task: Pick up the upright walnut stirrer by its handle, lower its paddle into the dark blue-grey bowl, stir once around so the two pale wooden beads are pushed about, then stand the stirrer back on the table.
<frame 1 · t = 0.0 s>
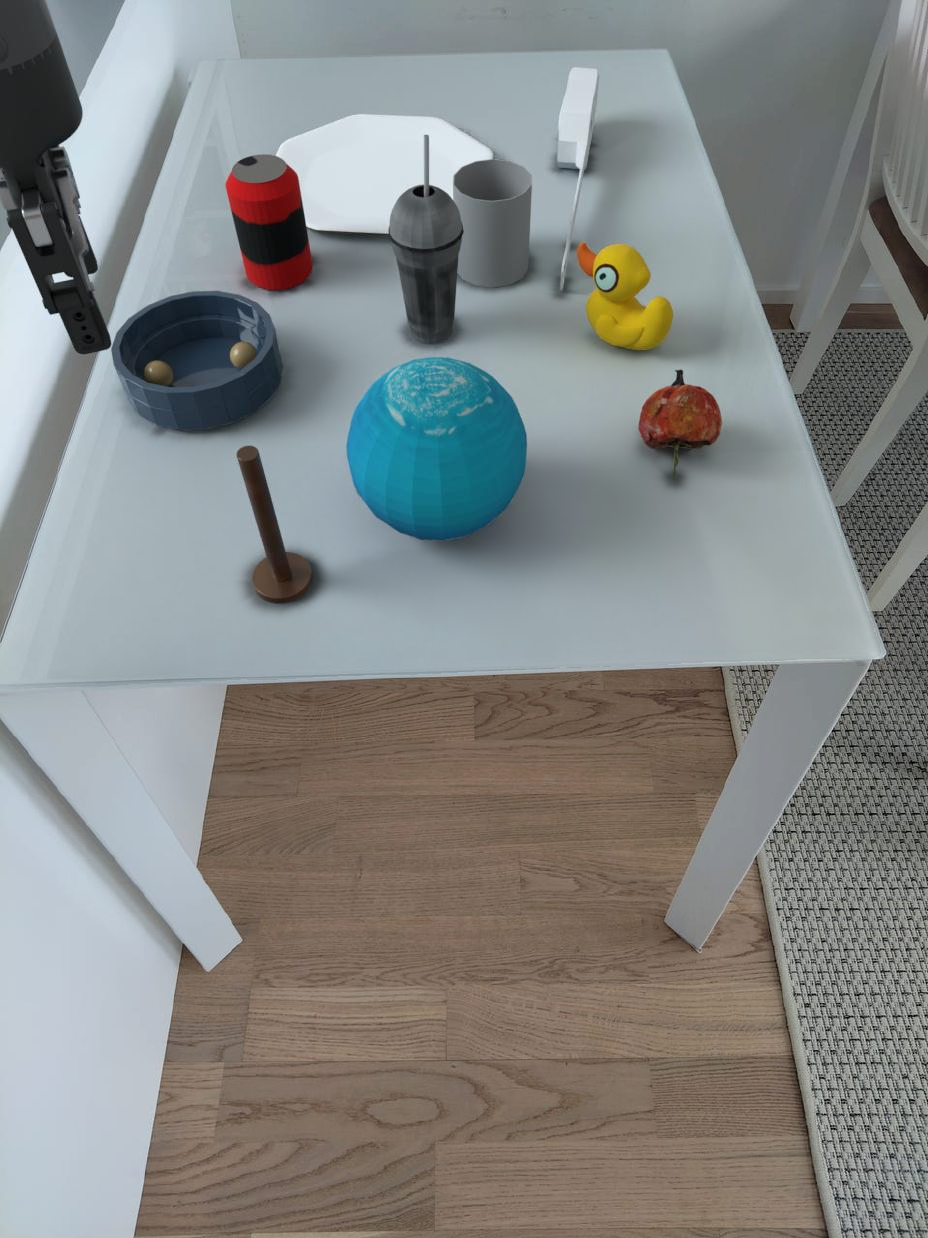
hand: (88, 309, 60), 25 cm above the table, tool pointing down, fingers open, 8 cm apart
bead a: (158, 375, 91), point 2 cm above the table, touching bowl
soda can: (280, 273, 104), on the table
beverage cup: (431, 332, 98), on the table
plate: (380, 181, 116), on the table
spatula: (562, 201, 112), on the table
cup: (491, 266, 105), on the table
bowl: (206, 381, 93), on the table
bead b: (244, 356, 93), point 2 cm above the table, touching bowl
stirrer: (283, 580, 78), on the table
orange red pumpkin: (672, 452, 87), on the table
decorative orb: (440, 513, 83), on the table
duckling: (617, 340, 96), on the table
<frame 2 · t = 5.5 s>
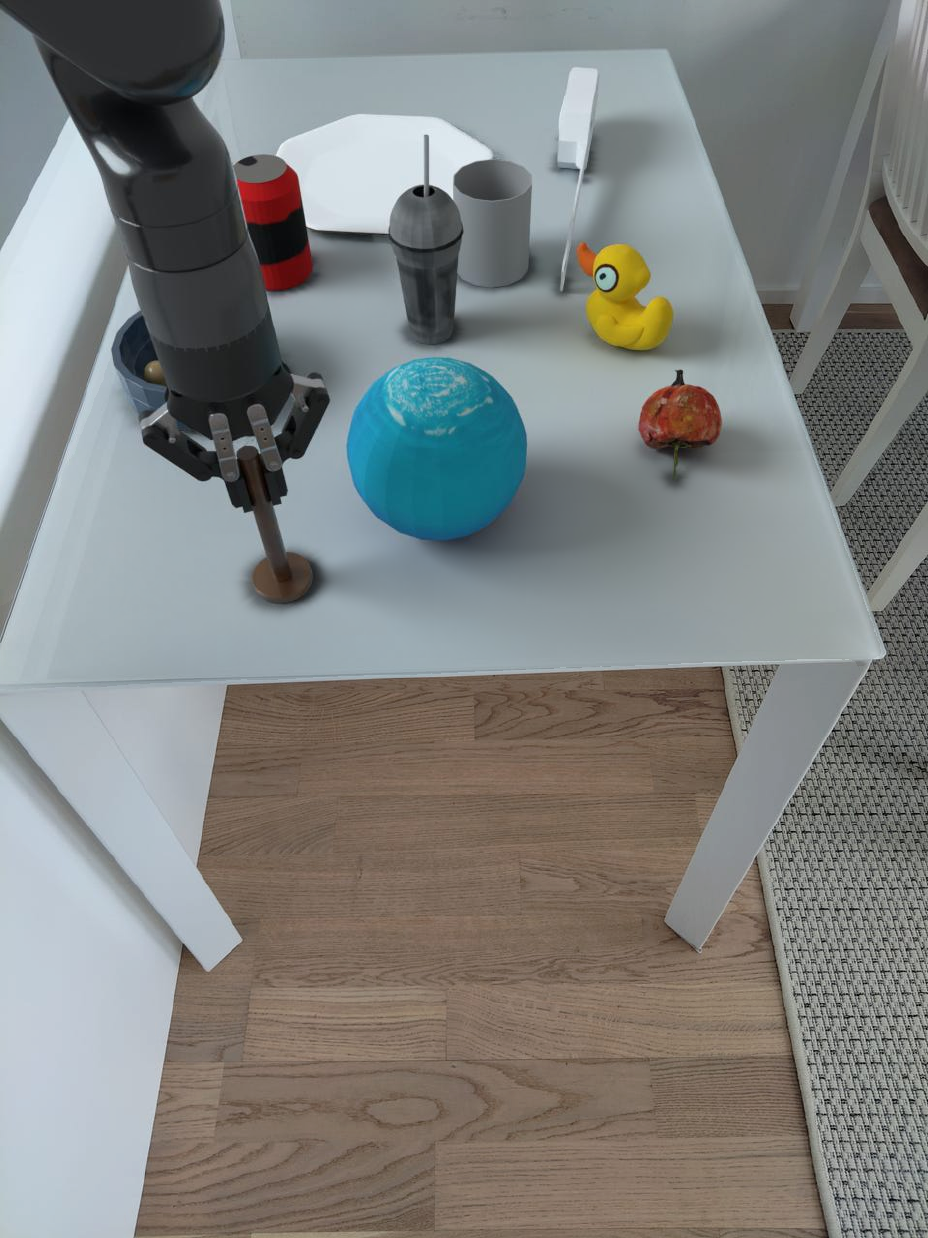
hand: (261, 500, 70), 10 cm above the table, tool pointing down, fingers closed on stirrer
stirrer: (283, 580, 78), on the table, touching gripper
everything else where it was.
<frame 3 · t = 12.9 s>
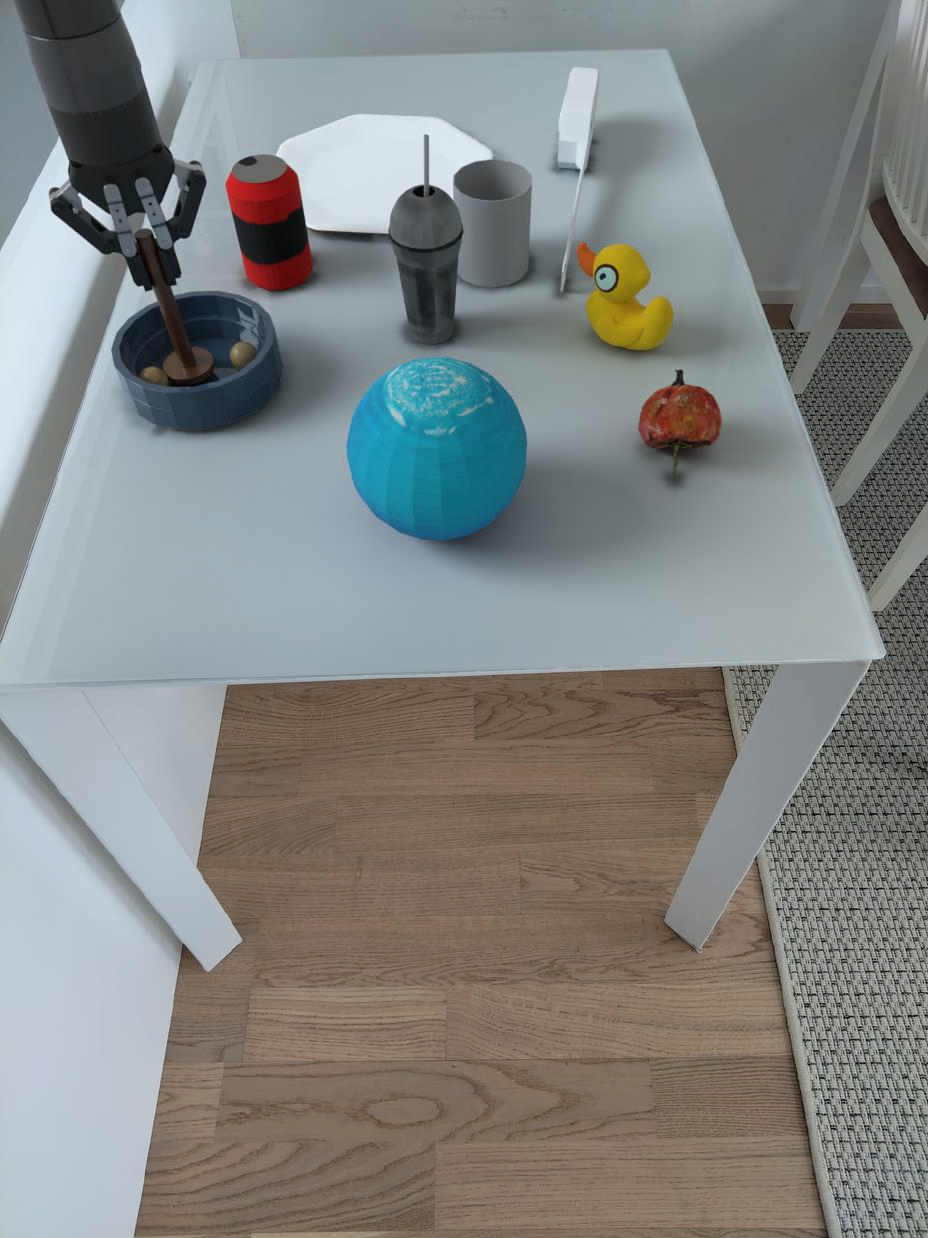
hand: (160, 282, 84), 11 cm above the table, tool pointing down, fingers closed on stirrer
bead a: (153, 381, 91), point 2 cm above the table, tilted 29°, touching bowl, stirrer
stirrer: (190, 368, 92), point 2 cm above the table, touching bead a, gripper
everything else where it was.
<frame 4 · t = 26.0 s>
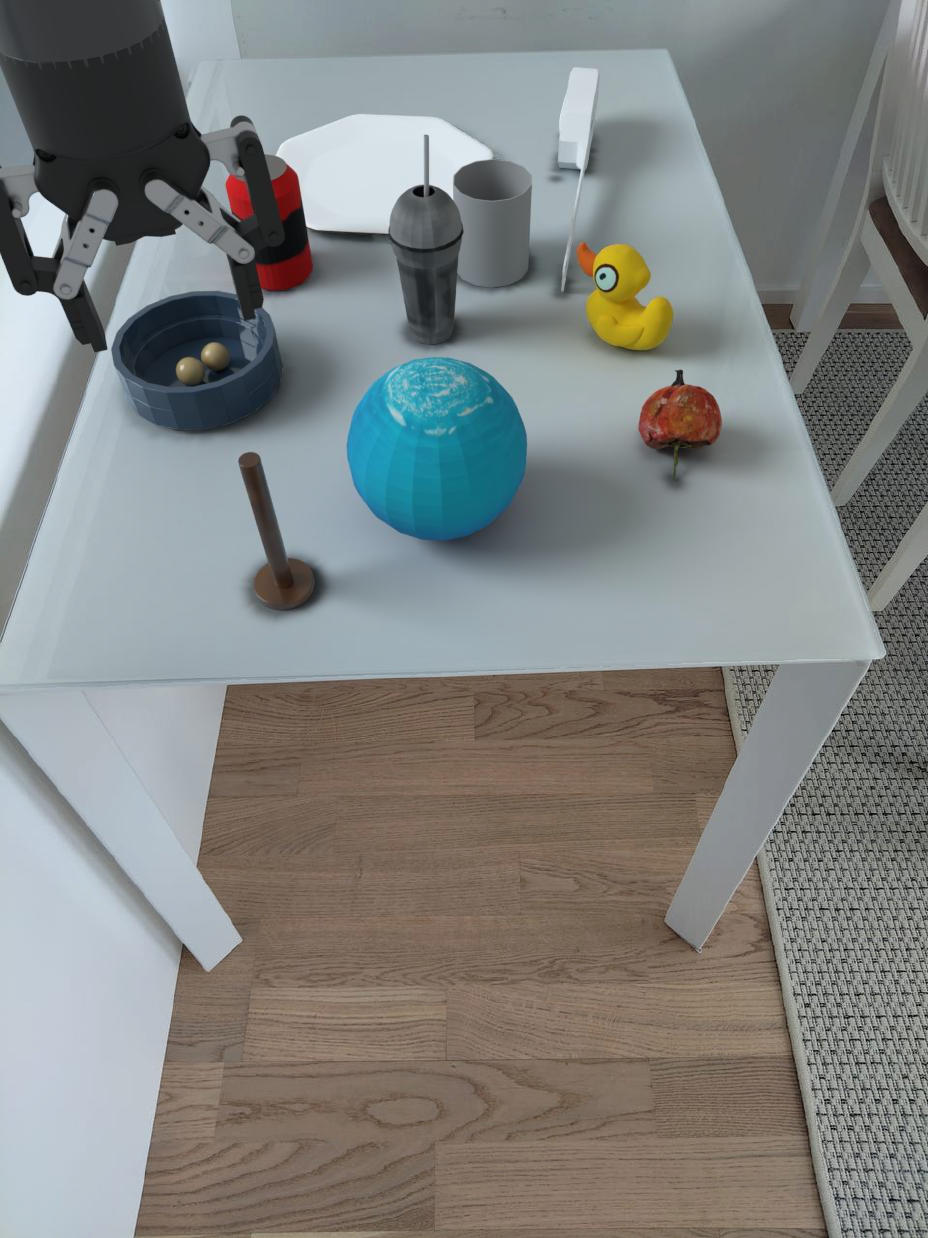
hand: (175, 327, 53), 28 cm above the table, tool pointing down, fingers open, 8 cm apart
bead a: (190, 371, 91), point 2 cm above the table, tilted 121°, touching bowl
bead b: (215, 356, 93), point 2 cm above the table, tilted 117°, touching bowl
stirrer: (285, 586, 78), on the table
everything else where it was.
at the end: bead a moved 3.1 cm from its start; bead b inside the target area in the bowl (1.7 cm from its centre), point 2.0 cm above the bowl's base; stirrer tilted 0° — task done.
